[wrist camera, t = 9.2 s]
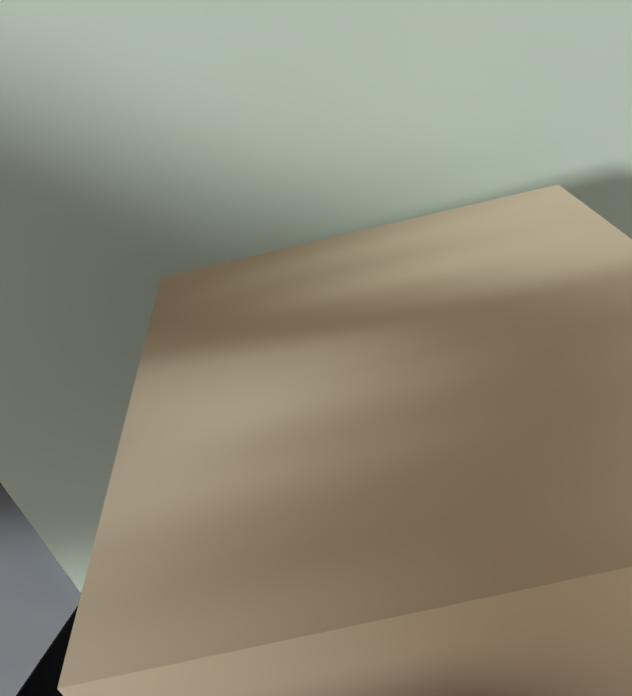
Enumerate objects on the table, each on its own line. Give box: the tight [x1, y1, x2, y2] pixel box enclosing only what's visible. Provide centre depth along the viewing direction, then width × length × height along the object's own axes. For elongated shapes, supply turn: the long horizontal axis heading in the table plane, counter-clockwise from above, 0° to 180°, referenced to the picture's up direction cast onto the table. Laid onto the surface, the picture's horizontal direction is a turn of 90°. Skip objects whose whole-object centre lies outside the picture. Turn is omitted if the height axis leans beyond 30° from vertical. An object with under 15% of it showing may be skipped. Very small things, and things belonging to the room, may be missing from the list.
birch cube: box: [57, 185, 632, 696], centre depth 7 cm, size 5×5×5 cm
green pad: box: [0, 0, 632, 592], centre depth 10 cm, size 14×14×1 cm
